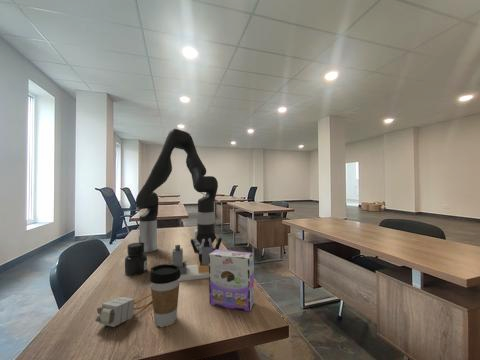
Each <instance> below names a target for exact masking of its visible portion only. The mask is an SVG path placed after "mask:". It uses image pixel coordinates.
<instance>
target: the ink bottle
mask: <svg viewBox="0 0 480 360" xmlns="http://www.w3.org/2000/svg"><path fill="white" fill-rule="evenodd" d="M126 247H127V248H126V249H127V251H126V252H127V256H125V257H124V273H125V275H127V276H132V277H133V276H139V275H142V274H144V273H146V272H147V271H148V256H147V254H146V253H144V250H145V248H144V243H141V242H139V241H138V242H131V243H129V244H127V245H126Z"/></svg>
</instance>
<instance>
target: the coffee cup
mask: <svg viewBox="0 0 480 360" xmlns="http://www.w3.org/2000/svg"><path fill="white" fill-rule="evenodd" d="M169 264H170V263H169ZM169 264H167V263H166V264H157V265H155V266H152V267H151V268H150V272H149V274H150V275H149V282H150V283H151V286H150V291H151V293H150V294H152V295H151V299H152V300H151V302H152V309H153V311H152V312H153V319H154V325H155V324H156V325H158V326H166V327H168V326H167V325H170V324H172V323H173V322H174V321H175V320H176V321H177V318H178V317H177V316H178V315H177V314H178V305H179V304H178V303H179V293H180V281H179V278H180V276H181V275H180V274H181V273H180V269H179V267H178V266H176V265H169ZM176 321H175V322H176ZM175 322H174V323H175ZM174 323H173V324H174ZM173 324H172V325H173ZM156 325H155V326H156ZM158 326H157V327H158ZM170 326H171V325H170Z"/></svg>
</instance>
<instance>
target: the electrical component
mask: <svg viewBox="0 0 480 360" xmlns="http://www.w3.org/2000/svg"><path fill="white" fill-rule="evenodd" d="M148 297H152V293H150V294H148V295H146V296H144V297H142V298H140V299H138V300H137V301H135V298H130V297H124V296H120V297H116V298H114V299H111V300H108V301H106V302H104V303H102V305H101V306H99V307H97V308H96V311H97V314H99V315H98V316H96V319H95V322H97V323H99V325H104V326H109V327H116V326H118V325H120V324H122V323H125V322H126V321H128V320H130V319H132V318H133V314H134V310H140V309H141V310H142V309H143V308H145V307H147V306H148V305H151V304H153V302H152V301H150V302H149V303H147V304H145V305H143V306H139V307H134V306H135V305H136V304H139V303H140V302H142V301H143V300H145V299H147V298H148ZM129 318H130V319H129Z"/></svg>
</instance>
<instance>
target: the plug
mask: <svg viewBox="0 0 480 360" xmlns="http://www.w3.org/2000/svg"><path fill="white" fill-rule="evenodd" d="M210 253H211V247H210V246H207V245H206V246H203V247H202V266H205V265H209V254H210Z"/></svg>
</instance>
